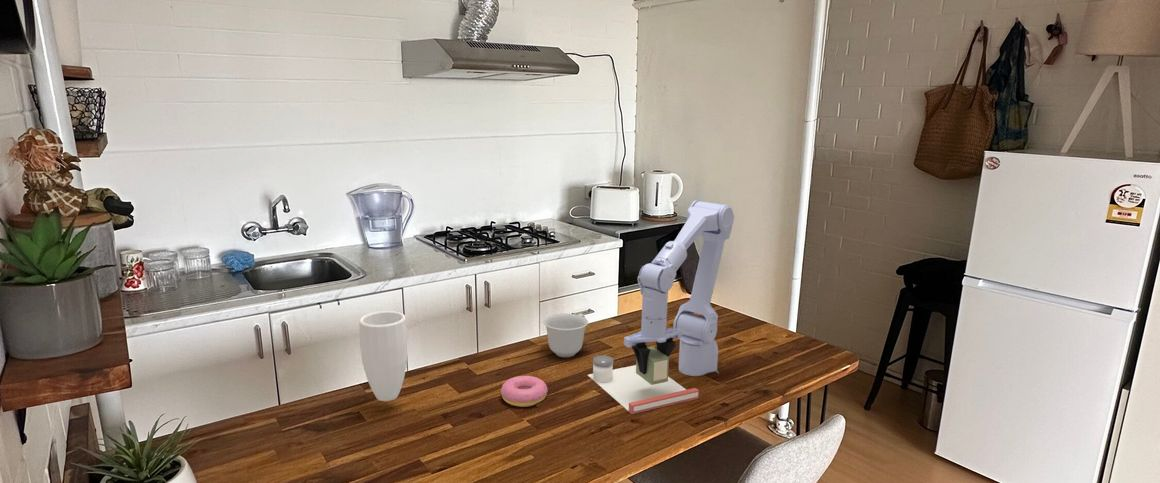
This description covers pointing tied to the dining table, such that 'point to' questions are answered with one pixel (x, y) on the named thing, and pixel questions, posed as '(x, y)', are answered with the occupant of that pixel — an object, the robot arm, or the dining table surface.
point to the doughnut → (524, 391)
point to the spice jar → (602, 369)
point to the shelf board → (644, 391)
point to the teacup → (565, 333)
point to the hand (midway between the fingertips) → (651, 370)
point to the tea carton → (655, 367)
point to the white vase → (384, 352)
